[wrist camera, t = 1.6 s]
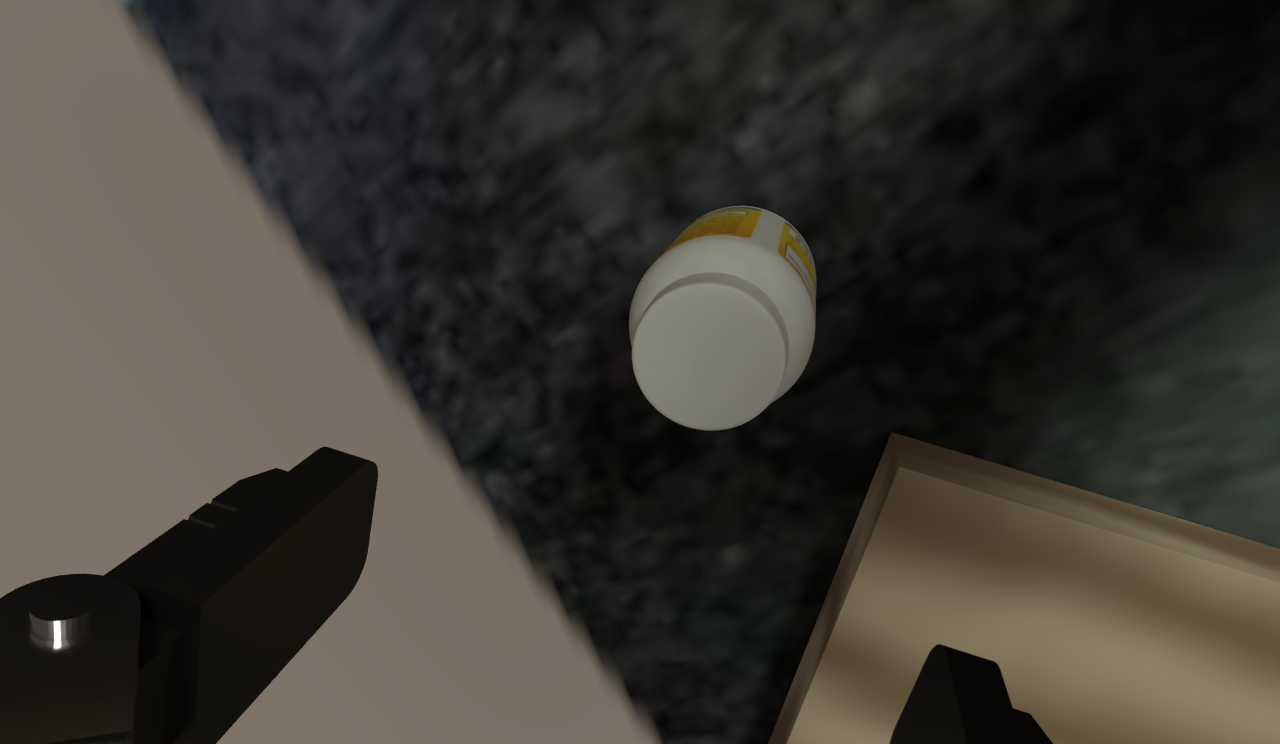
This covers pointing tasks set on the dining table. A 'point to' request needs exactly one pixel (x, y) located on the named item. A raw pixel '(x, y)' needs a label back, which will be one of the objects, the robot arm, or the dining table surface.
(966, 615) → the birch plinth
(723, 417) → the supplement bottle
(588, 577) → the dining table surface
